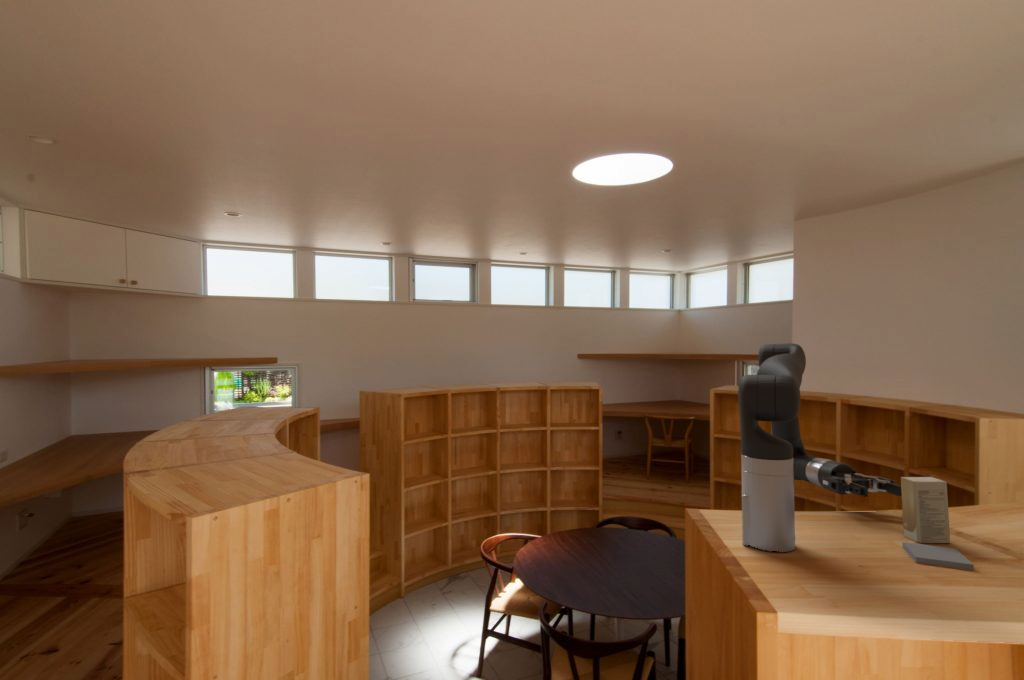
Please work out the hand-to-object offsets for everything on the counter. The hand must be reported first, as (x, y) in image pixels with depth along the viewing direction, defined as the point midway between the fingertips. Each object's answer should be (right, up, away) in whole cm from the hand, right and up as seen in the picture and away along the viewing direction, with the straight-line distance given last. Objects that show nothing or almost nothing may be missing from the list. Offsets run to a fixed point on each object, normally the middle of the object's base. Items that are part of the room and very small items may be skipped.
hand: (884, 491), depth 109 cm
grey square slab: (-5, -6, -19) cm, 21 cm away
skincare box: (+1, -7, -10) cm, 12 cm away
